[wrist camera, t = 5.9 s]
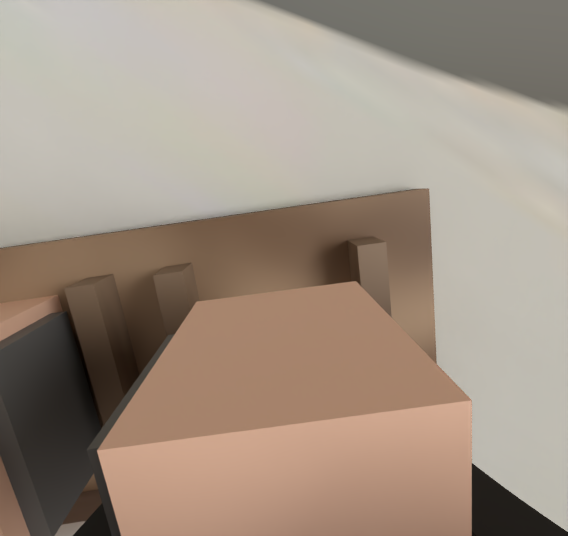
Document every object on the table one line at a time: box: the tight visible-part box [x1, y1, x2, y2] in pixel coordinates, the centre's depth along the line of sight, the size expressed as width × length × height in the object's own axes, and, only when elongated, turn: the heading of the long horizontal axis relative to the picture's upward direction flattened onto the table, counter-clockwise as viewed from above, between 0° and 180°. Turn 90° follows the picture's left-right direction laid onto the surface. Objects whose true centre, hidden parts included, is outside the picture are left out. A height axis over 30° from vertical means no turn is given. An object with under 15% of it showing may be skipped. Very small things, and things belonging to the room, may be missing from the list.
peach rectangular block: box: [87, 281, 472, 536], centre depth 7 cm, size 5×7×5 cm, turn 7°
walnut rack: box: [0, 189, 436, 536], centre depth 14 cm, size 13×22×2 cm, turn 98°
